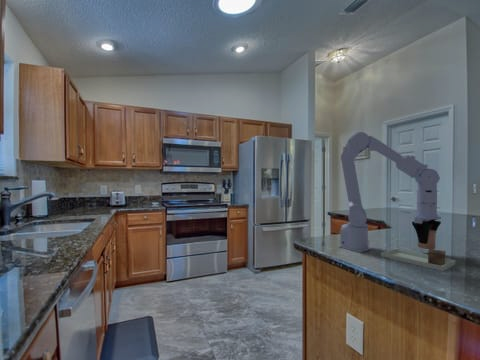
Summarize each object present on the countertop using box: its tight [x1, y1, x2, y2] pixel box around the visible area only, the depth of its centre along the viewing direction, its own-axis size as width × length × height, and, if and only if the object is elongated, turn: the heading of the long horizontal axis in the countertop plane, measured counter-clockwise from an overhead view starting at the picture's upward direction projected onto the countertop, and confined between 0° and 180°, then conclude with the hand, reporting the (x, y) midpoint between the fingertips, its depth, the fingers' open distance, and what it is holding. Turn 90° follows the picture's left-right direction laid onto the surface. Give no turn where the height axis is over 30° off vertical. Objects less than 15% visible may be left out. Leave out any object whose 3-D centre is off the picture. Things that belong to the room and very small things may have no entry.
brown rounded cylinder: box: [417, 230, 437, 250], centre depth 90 cm, size 5×5×6 cm
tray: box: [380, 247, 456, 272], centre depth 83 cm, size 17×10×2 cm, turn 35°
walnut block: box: [427, 249, 446, 266], centre depth 79 cm, size 4×4×4 cm
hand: (426, 242), depth 90 cm, fingers closed on brown rounded cylinder, 5 cm apart
